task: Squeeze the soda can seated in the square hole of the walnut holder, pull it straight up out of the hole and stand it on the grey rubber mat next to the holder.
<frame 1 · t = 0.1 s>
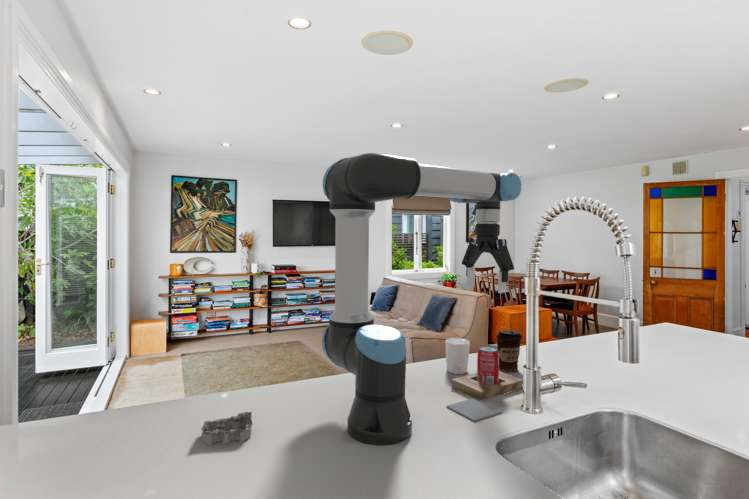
hand: (485, 289, 137), 28 cm above the countertop, tool pointing down, fingers open, 13 cm apart
egg carton: (227, 437, 96), on the countertop
walnut holder: (487, 387, 128), on the countertop
grey rubber mat: (473, 410, 112), on the countertop
soda can: (487, 388, 128), resting in walnut holder
white cup: (456, 371, 143), on the countertop
coffee cup: (508, 370, 145), on the countertop
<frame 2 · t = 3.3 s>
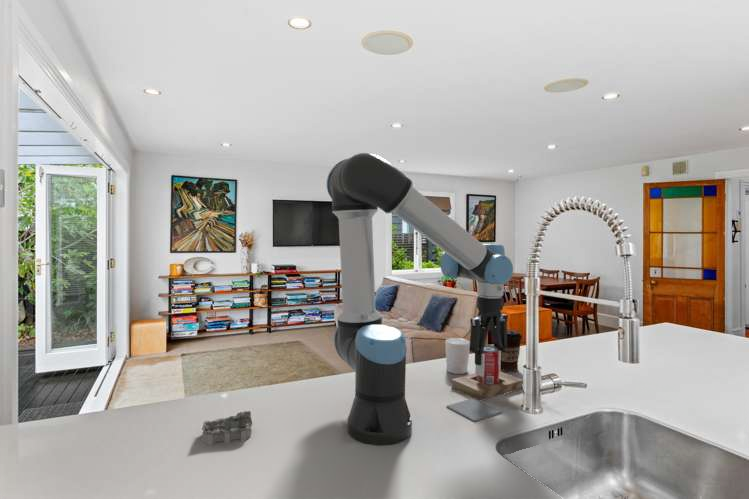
hand: (487, 373, 127), 4 cm above the countertop, tool pointing down, fingers closed on soda can, 6 cm apart
soda can: (487, 388, 128), resting in walnut holder, touching gripper
everything else where it was.
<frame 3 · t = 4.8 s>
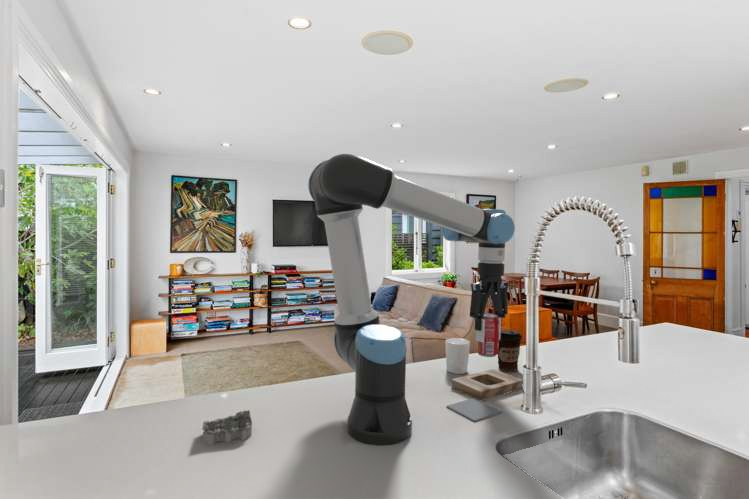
hand: (487, 339, 127), 15 cm above the countertop, tool pointing down, fingers closed on soda can, 6 cm apart
soda can: (487, 355, 127), point 10 cm above the countertop, touching gripper
everything else where it was.
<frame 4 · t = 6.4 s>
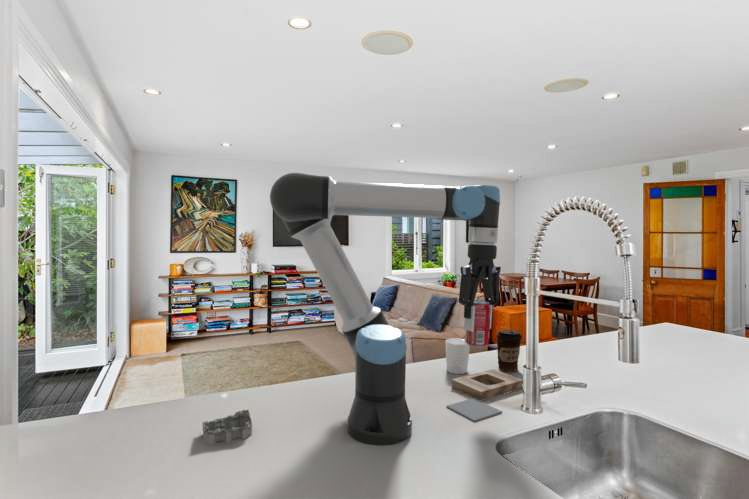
hand: (477, 328, 116), 20 cm above the countertop, tool pointing down, fingers closed on soda can, 6 cm apart
soda can: (476, 345, 116), point 16 cm above the countertop, touching gripper
everything else where it was.
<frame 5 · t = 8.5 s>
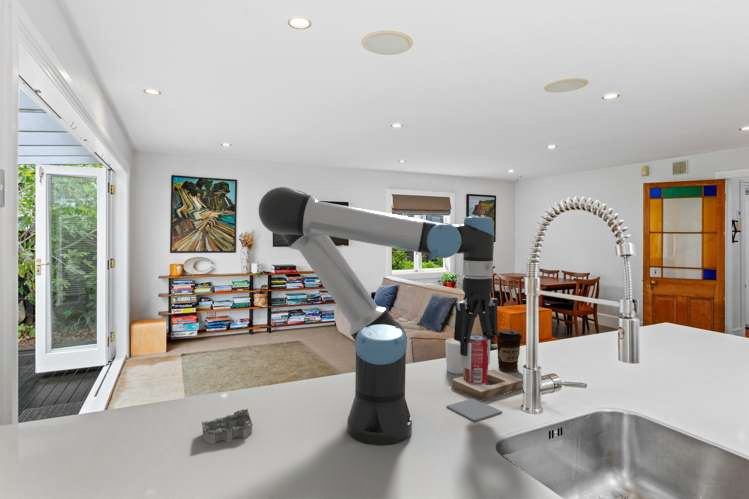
hand: (475, 365, 111), 12 cm above the countertop, tool pointing down, fingers closed on soda can, 6 cm apart
soda can: (475, 382, 111), point 7 cm above the countertop, touching gripper
everything else where it was.
when the fingers open (6 cm above the countertop, at t = 9.9 s): soda can drops 2 cm, resting on grey rubber mat.
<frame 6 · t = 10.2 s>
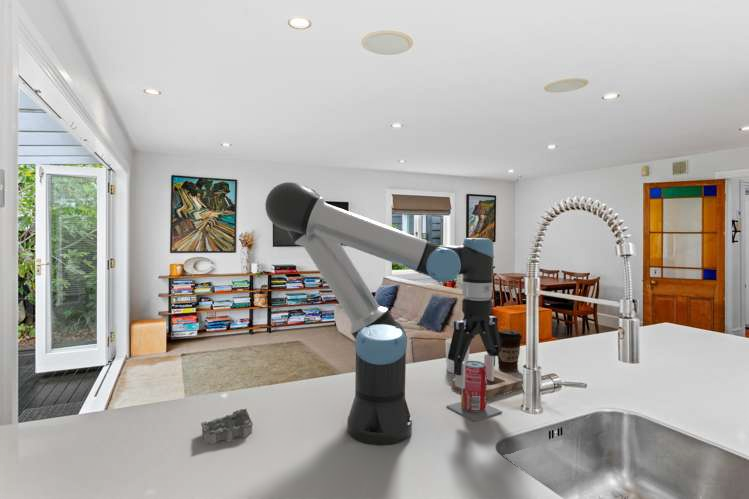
hand: (474, 382, 111), 7 cm above the countertop, tool pointing down, fingers open, 10 cm apart
soda can: (473, 409, 112), resting on grey rubber mat
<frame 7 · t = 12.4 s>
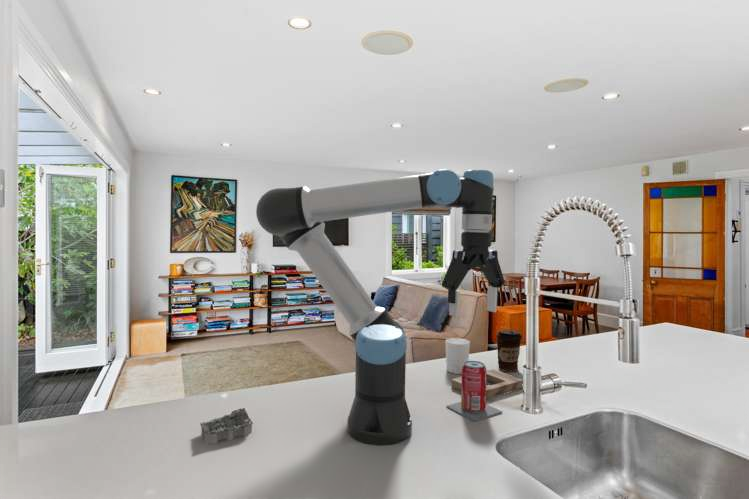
hand: (473, 313, 111), 25 cm above the countertop, tool pointing down, fingers open, 13 cm apart
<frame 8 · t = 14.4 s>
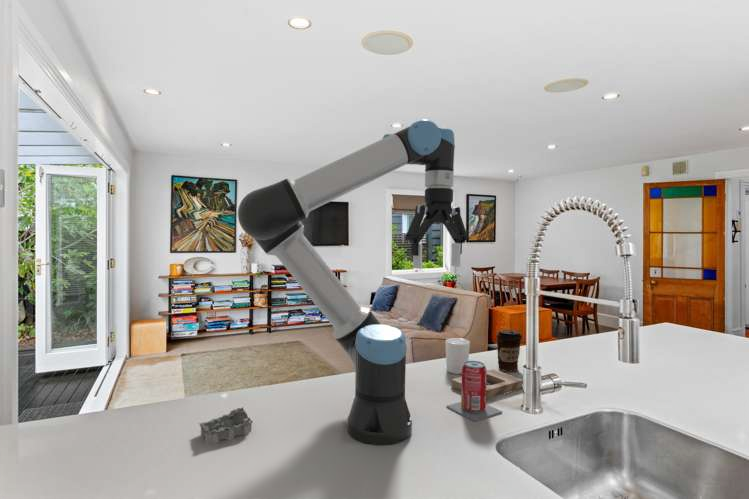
hand: (437, 267, 116), 37 cm above the countertop, tool pointing down, fingers open, 13 cm apart
at the end: soda can inside the target area on the grey rubber mat (0.3 cm from its centre), point 0.2 cm above the grey rubber mat's base; soda can tilted 0°; the gripper is holding nothing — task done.
